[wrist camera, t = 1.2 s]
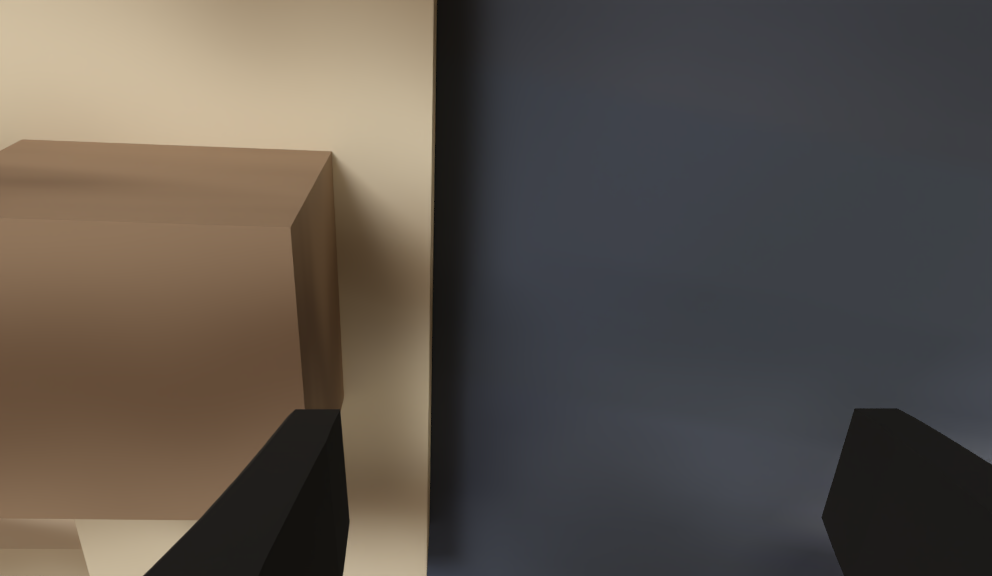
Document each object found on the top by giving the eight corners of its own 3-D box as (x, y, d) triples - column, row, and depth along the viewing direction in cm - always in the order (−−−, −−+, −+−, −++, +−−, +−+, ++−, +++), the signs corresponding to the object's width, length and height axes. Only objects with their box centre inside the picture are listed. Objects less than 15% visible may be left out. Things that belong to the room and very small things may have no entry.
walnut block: (343, 397, 18) (313, 521, 14) (83, 392, 17) (-15, 518, 14) (331, 150, 15) (290, 227, 11) (22, 139, 15) (-122, 214, 11)
